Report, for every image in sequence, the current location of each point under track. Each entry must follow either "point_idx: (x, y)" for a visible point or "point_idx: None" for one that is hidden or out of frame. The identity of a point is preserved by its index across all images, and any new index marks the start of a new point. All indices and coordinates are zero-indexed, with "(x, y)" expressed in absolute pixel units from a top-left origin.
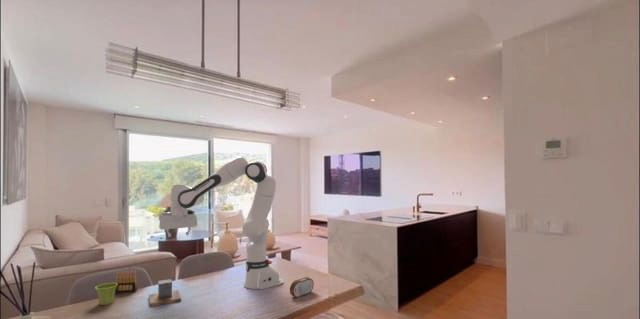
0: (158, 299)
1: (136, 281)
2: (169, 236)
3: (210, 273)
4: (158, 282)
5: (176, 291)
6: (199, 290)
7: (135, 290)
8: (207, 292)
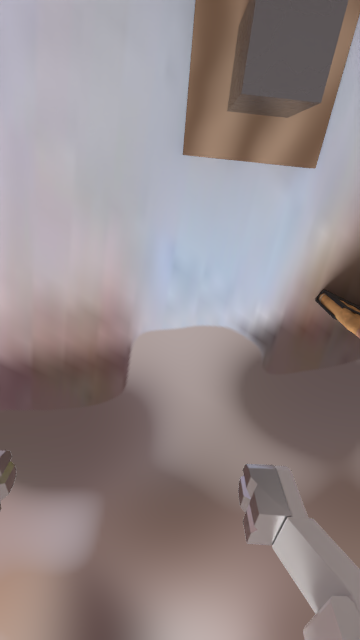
0: None
1: (334, 317)
2: (273, 467)
3: (22, 348)
4: (323, 84)
5: (195, 129)
6: (81, 118)
7: (325, 291)
8: (40, 42)
